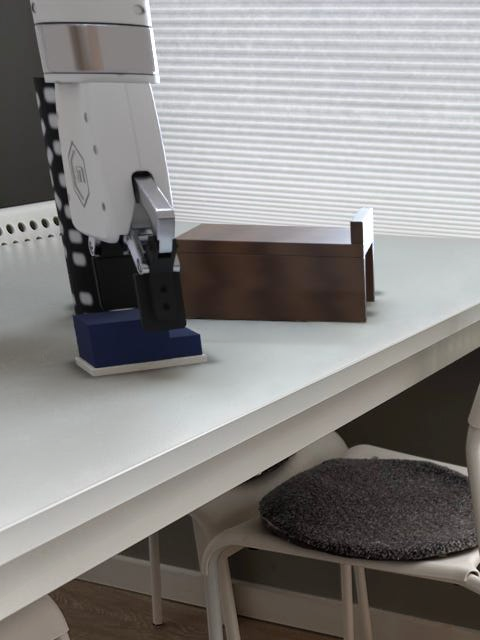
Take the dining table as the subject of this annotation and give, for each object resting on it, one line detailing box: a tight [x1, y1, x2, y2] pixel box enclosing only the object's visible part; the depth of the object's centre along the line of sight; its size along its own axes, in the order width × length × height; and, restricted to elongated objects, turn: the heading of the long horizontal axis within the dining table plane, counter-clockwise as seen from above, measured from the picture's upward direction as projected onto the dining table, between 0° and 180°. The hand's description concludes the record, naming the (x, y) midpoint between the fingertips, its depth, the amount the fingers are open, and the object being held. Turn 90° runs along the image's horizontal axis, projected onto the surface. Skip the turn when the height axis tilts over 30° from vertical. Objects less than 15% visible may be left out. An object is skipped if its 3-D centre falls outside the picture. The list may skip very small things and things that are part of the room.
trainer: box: [71, 309, 208, 377], centre depth 74 cm, size 9×4×4 cm, turn 126°
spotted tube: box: [32, 76, 146, 315], centre depth 88 cm, size 8×8×20 cm
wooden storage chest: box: [175, 206, 376, 324], centre depth 96 cm, size 18×12×9 cm, turn 91°
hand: (142, 318), depth 73 cm, fingers open, 9 cm apart
